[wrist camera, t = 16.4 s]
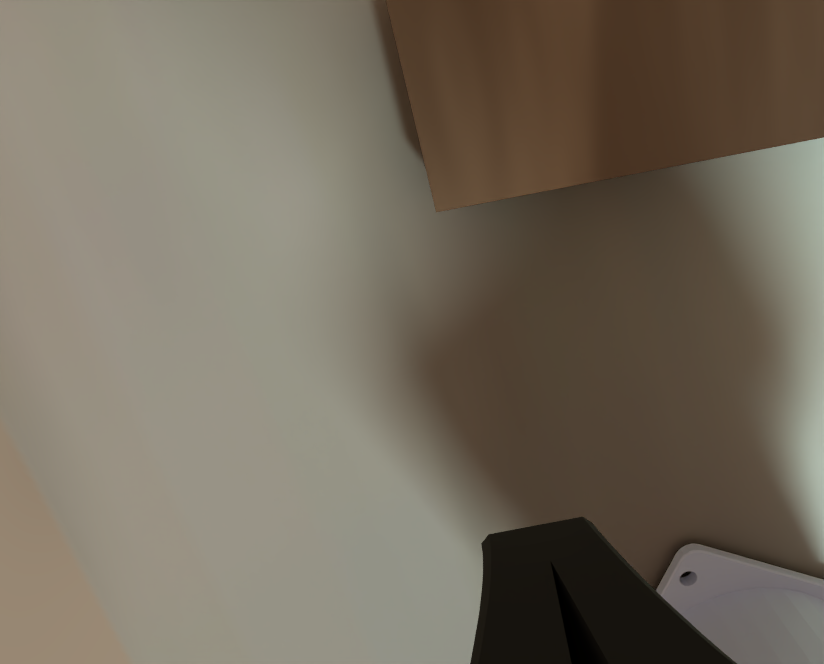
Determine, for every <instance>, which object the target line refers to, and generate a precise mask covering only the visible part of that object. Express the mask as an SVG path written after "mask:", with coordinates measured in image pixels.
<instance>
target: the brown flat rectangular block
mask: <svg viewBox="0 0 824 664" xmlns="http://www.w3.org/2000/svg"><path fill="white" fill-rule="evenodd" d="M386 4H387V8H388V12H389V16H390V21H391V25H392V29H393V33H394V37H395V42H396V46H397V50H398V54H399V58H400V63H401V67H402V71H403V75H404V79H405V83H406V88H407V92H408V96H409V100H410V104H411V109H412V113H413V117H414V121H415V125H416V130H417V134H418V138H419V142H420V146H421V150H422V155H423V159H424V163H425V167H426V171H427V176H428V180H429V184H430V188H431V192H432V197H433V201H434V205H435V209H436V212H440V211H445V210H450V209H455V208H461V207H466V206H471V205H476V204H481V203H486V202H492V201H497V200H502V199H507V198H512V197H518V196H523V195H528V194H533V193H538V192H543V191H549V190H554V189H559V188H564V187H569V186H574V185H580V184H585V183H590V182H595V181H600V180H605V179H611V178H616V177H621V176H626V175H631V174H636V173H642V172H647V171H652V170H657V169H662V168H667V167H673V166H678V165H683V164H688V163H693V162H699V161H704V160H709V159H714V158H719V157H724V156H730V155H735V154H740V153H745V152H750V151H755V150H761V149H766V148H771V147H776V146H781V145H786V144H792V143H797V142H802V141H807V140H812V139H817V138H823V137H824V0H386Z"/></svg>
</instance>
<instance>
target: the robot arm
mask: <svg viewBox="0 0 824 664" xmlns="http://www.w3.org/2000/svg"><path fill="white" fill-rule="evenodd" d="M481 544H482V551H483V583H482V594H481V603H480V612H479V618H478V624H477V630H476V635H475V641H474V647H473V652H472V658H471V663H470V664H824V580H823V579H820V578H816V577H813V576H809V575H806V574H802V573H799V572H795V571H792V570H788V569H785V568H781V567H778V566H774V565H771V564H767V563H764V562H760V561H757V560H753V559H750V558H746V557H743V556H739V555H736V554H732V553H729V552H725V551H722V550H718V549H715V548H711V547H708V546H704V545H701V544H693V543H692V544H688V545H685V546H683V547H682V548H680V549H679V550H678V552H677V553H676V555H675V556H674V558H673V560H672V562H671V564H670V565H669V567H668V569H667V571H666V573H665V575H664V576H663V578H662V580H661V582H660V584H659V586H658V587H657V589H656V591H655V590H654V589H653V588H652V587H651V586H650V585H649V584H648V583H647V582H646V581H645V580H644V579H643V578H642V577H641V576H640V575H639V574H638V573H637V572H636V571H635V570H634V569H633V568H632V567H631V566H630V565H629V564H628V563H627V561H626V560H625V559H624V558H623V557H622V556H621V555H620V554H619V553H618V552H617V551H616V550H615V549H614V548H613V546H612V545H611V544H610V543H609V542H608V541H607V540H606V539H605V538H604V536H603V535H602V534H601V533H600V532H599V531H598V530H597V528H596V527H595V526H594V525H593V523H591V522H590V521H588V520H587V519H585V518H584V517H579V518H573V519H568V520H563V521H558V522H552V523H547V524H542V525H536V526H531V527H526V528H521V529H515V530H510V531H505V532H499V533H494V534H489V535H488V536H487V537H486V539H485V540H484V541H483V542H482V543H481ZM687 571H691V573H690V574H689V575H688V576H686V577H680V576H681V575H682V574H683V573H685V572H687Z"/></svg>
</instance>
